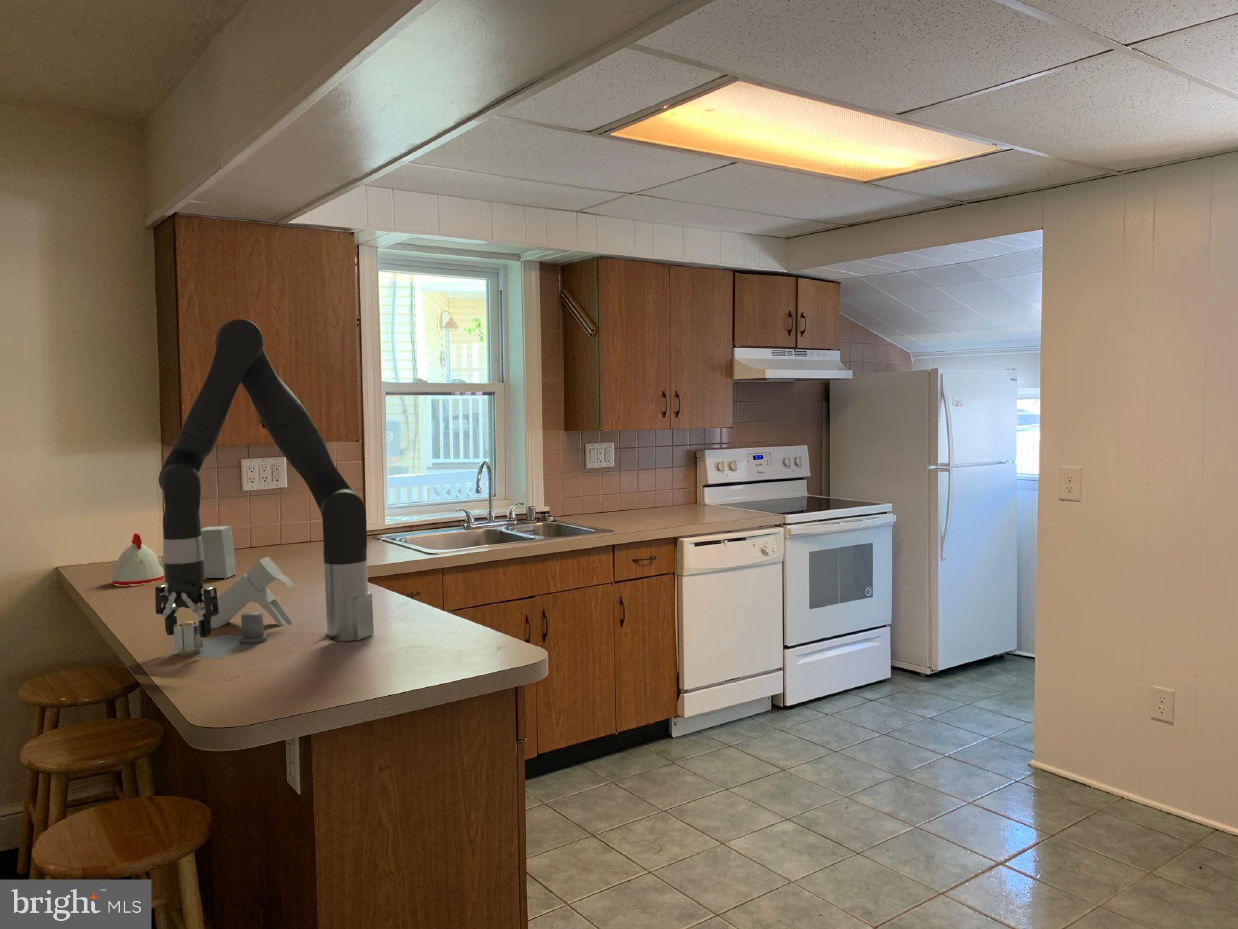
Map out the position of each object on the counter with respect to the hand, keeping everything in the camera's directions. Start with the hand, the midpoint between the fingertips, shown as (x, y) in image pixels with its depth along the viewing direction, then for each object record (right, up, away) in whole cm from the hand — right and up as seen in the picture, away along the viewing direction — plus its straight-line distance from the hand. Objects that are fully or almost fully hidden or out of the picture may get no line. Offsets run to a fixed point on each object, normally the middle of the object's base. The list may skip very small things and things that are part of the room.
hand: (188, 635), depth 190 cm
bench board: (+5, -4, +5) cm, 8 cm away
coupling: (0, -3, 0) cm, 3 cm away
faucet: (+2, -3, +25) cm, 25 cm away
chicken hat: (-56, 0, +87) cm, 104 cm away
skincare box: (-34, +1, +91) cm, 98 cm away
